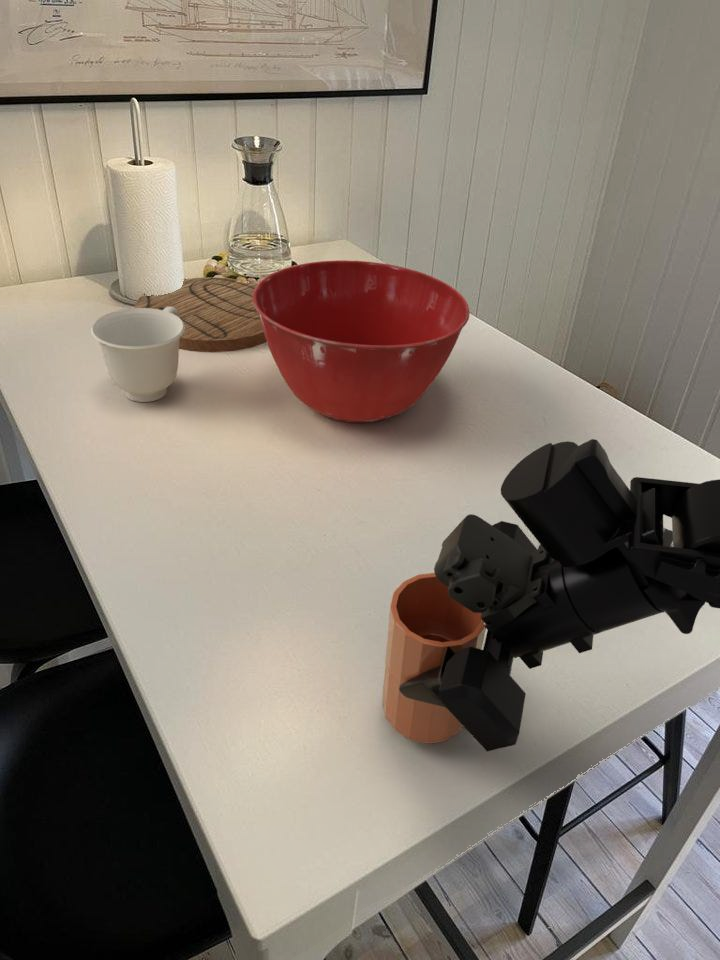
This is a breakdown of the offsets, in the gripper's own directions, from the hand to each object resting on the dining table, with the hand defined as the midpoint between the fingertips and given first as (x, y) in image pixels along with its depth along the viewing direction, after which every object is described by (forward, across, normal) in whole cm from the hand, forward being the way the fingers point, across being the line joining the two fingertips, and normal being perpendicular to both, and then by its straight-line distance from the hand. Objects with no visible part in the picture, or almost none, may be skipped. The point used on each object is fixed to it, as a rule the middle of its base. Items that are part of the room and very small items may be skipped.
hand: (414, 654), depth 61 cm
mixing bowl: (+20, -50, -9) cm, 54 cm away
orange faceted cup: (+4, 0, +6) cm, 7 cm away
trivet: (+41, -65, -30) cm, 83 cm away
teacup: (+39, -40, -28) cm, 63 cm away
